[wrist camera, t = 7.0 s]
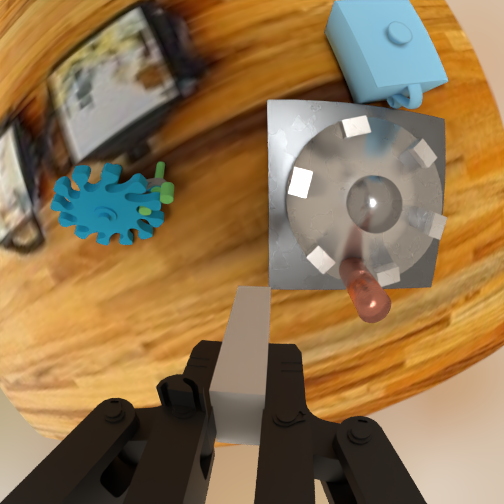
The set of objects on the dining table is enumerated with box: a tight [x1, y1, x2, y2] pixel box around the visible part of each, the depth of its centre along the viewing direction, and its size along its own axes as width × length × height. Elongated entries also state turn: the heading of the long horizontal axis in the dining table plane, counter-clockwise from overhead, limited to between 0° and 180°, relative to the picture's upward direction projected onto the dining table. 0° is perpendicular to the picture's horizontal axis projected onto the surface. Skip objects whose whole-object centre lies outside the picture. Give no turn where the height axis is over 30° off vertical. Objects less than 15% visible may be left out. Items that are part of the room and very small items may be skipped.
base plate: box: [267, 100, 445, 290], centre depth 21 cm, size 15×15×2 cm
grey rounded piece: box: [286, 115, 447, 323], centre depth 17 cm, size 12×12×8 cm
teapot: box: [324, 0, 448, 109], centre depth 15 cm, size 12×6×8 cm, turn 18°
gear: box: [51, 162, 174, 245], centre depth 22 cm, size 11×6×10 cm
